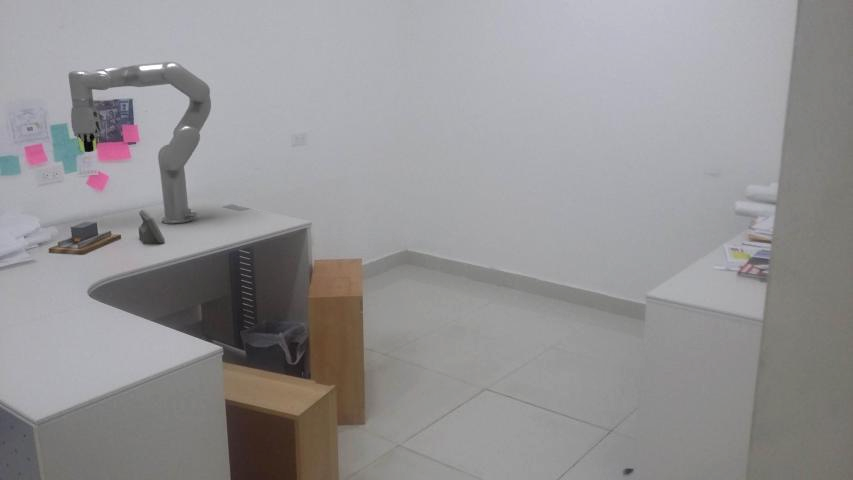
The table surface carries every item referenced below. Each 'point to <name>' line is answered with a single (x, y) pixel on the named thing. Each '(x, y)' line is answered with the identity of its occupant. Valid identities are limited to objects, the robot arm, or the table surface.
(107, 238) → the rail mount
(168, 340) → the table surface
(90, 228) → the block
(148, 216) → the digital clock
